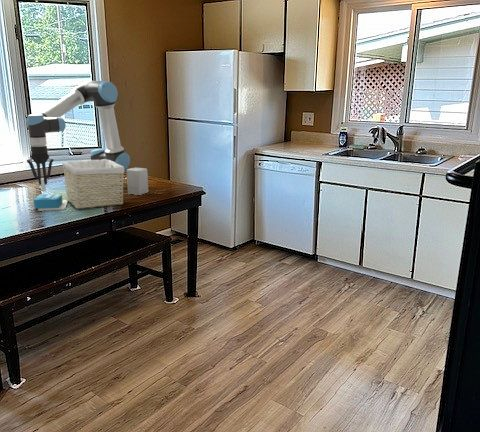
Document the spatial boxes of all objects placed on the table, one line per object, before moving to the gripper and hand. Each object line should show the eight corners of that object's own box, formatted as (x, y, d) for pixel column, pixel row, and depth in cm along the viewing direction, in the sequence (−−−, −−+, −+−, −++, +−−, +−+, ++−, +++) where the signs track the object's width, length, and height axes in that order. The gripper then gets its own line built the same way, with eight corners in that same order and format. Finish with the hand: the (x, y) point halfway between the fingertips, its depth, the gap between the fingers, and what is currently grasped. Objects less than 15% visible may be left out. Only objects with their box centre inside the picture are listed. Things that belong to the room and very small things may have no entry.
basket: (111, 194, 261) (109, 157, 255) (127, 204, 239) (126, 165, 233) (63, 199, 246) (60, 160, 240) (76, 210, 225) (73, 168, 219)
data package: (38, 194, 237) (62, 193, 239) (39, 202, 238) (63, 202, 240) (32, 200, 226) (57, 199, 228) (33, 208, 227) (58, 207, 229)
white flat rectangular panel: (68, 200, 245) (68, 199, 245) (65, 209, 229) (65, 208, 229) (43, 202, 242) (42, 200, 242) (38, 210, 225) (37, 209, 225)
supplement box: (149, 193, 266) (148, 168, 262) (139, 196, 258) (138, 170, 254) (136, 191, 269) (135, 167, 265) (127, 194, 262) (125, 169, 257)
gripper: (23, 146, 220) (29, 192, 227) (51, 146, 223) (56, 191, 230) (26, 144, 227) (31, 189, 234) (53, 144, 230) (58, 188, 237)
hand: (43, 190), depth 232 cm, fingers closed
